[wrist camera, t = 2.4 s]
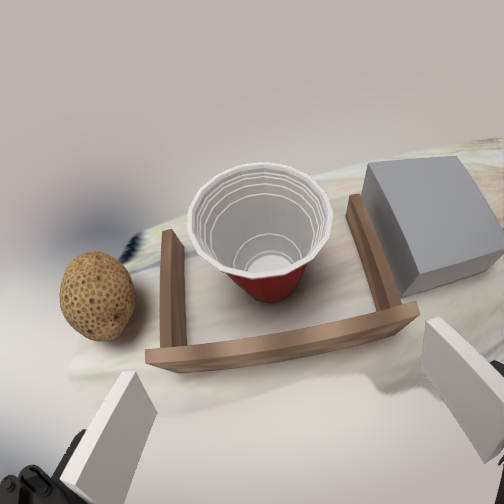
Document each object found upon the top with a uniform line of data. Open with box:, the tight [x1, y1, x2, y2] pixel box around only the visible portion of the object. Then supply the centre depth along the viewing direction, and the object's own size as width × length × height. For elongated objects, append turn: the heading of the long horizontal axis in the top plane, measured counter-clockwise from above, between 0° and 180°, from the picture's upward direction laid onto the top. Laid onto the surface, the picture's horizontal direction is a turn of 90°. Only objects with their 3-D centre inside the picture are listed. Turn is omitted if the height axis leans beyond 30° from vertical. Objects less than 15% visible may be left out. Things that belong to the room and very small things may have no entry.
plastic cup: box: [187, 162, 333, 302], centre depth 25 cm, size 11×11×12 cm
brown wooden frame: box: [145, 194, 420, 373], centre depth 27 cm, size 22×15×7 cm
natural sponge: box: [60, 252, 135, 341], centre depth 27 cm, size 9×9×10 cm
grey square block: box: [361, 156, 504, 298], centre depth 27 cm, size 14×14×6 cm
